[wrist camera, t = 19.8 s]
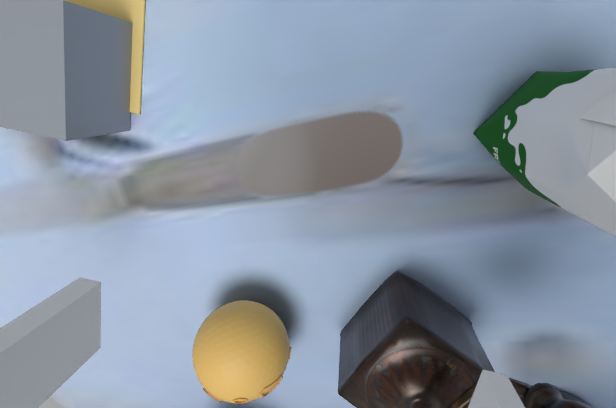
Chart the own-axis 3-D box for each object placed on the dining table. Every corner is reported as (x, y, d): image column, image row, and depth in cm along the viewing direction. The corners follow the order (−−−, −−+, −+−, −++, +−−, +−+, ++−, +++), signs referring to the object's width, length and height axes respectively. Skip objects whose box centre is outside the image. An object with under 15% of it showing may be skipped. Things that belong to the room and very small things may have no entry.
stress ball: (228, 275, 42) (162, 347, 38) (260, 289, 34) (180, 384, 30) (282, 327, 45) (226, 399, 41) (324, 352, 37) (259, 445, 33)
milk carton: (605, 123, 32) (978, 166, 13) (521, 196, 35) (729, 320, 16) (537, 55, 31) (831, -7, 12) (457, 135, 34) (592, 188, 15)
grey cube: (130, 130, 37) (65, 140, 29) (37, 110, 38) (-52, 115, 29) (133, 23, 34) (63, 0, 26) (33, 3, 35) (-68, -26, 26)
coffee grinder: (414, 383, 42) (456, 579, 25) (337, 332, 41) (327, 498, 24) (511, 291, 38) (644, 455, 20) (427, 231, 37) (492, 350, 20)
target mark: (140, 114, 37) (139, 114, 36) (30, 91, 37) (28, 91, 37) (146, -19, 33) (145, -19, 33) (24, -42, 34) (22, -43, 33)
